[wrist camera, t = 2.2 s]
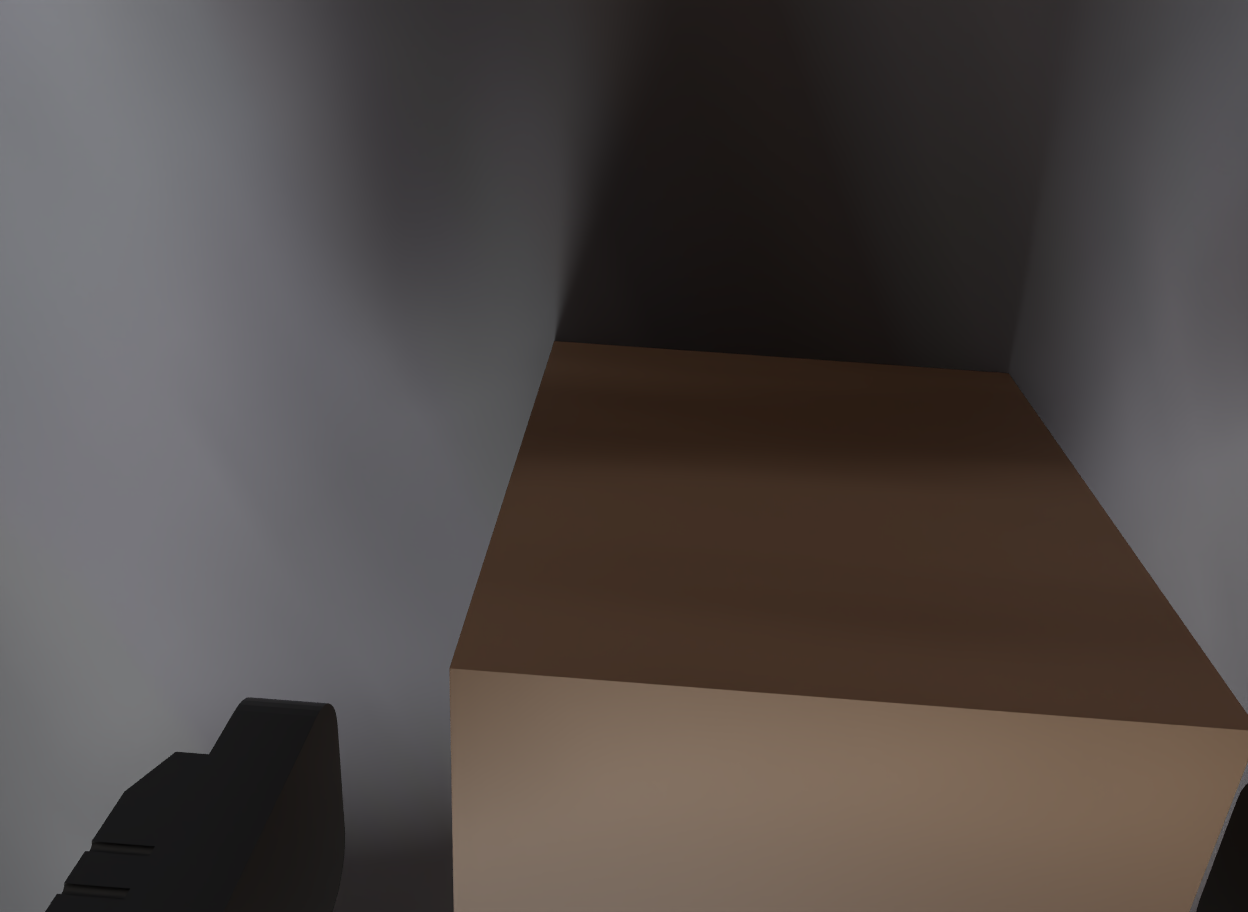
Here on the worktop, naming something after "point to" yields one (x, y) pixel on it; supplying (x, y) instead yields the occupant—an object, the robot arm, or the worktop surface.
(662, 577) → the walnut block
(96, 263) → the worktop surface
